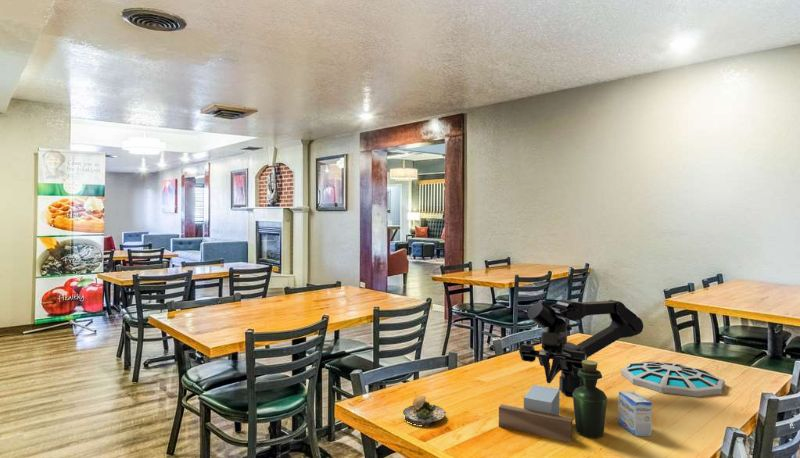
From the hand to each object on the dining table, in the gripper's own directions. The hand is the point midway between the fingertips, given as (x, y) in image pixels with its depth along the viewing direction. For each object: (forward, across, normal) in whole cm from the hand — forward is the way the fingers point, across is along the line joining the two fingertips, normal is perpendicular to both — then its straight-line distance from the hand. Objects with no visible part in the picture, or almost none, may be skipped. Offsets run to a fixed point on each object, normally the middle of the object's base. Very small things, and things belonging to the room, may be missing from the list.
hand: (548, 382), depth 131 cm
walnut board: (+17, 0, -6) cm, 18 cm away
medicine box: (+7, +22, +4) cm, 24 cm away
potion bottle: (+13, +12, -1) cm, 18 cm away
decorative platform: (-26, +32, +38) cm, 56 cm away
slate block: (+12, 0, -1) cm, 12 cm away
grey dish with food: (+21, -29, -10) cm, 37 cm away
